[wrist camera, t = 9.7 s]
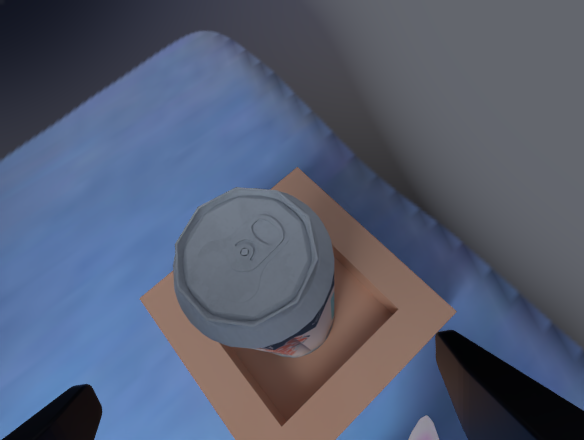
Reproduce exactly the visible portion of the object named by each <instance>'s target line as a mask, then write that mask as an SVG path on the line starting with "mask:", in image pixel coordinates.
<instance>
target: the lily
mask: <svg viewBox="0 0 584 440" xmlns="http://www.w3.org/2000/svg"><path fill="white" fill-rule="evenodd" d="M408 440H439V438H438V435H437V432H436V429H435V426H434V423H433V422H432V420H431V419H430V418H429V417H428V416H427V415H426V416H424V417H422V418H421V419H420V420H419V421H418V423H417V424H416V426H415V427H414V429H413V431H412V432H411V435H410V437H409V439H408Z"/></svg>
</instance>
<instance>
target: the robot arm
mask: <svg viewBox="0 0 584 440" xmlns="http://www.w3.org/2000/svg"><path fill="white" fill-rule="evenodd" d="M435 341H436V361H437V365H438V368H439V370H440V373H441V375H442V378H443V380H444V383H445V385H446V388H447V390H448V393H449V395H450V398H451V400H452V403H453V405H454V408H455V410H456V413H457V415H458V418H459V420H460V423H461V425H462V427H463V430H464V432H465V434H466V436H467V438H468V440H584V411H583V410H581V409H580V408H578V407H577V406H575V405H573V404H572V403H570V402H569V401H567V400H565V399H564V398H562V397H561V396H559V395H557V394H556V393H554V392H552V391H551V390H549V389H548V388H546V387H544V386H543V385H541V384H540V383H538V382H536V381H535V380H533V379H531V378H530V377H528V376H527V375H525V374H523V373H522V372H520V371H519V370H517V369H515V368H514V367H512V366H511V365H509V364H507V363H506V362H504V361H502V360H501V359H499V358H498V357H496V356H494V355H493V354H491V353H490V352H488V351H486V350H485V349H483V348H482V347H480V346H478V345H477V344H475V343H473V342H472V341H470V340H469V339H467V338H465V337H464V336H462V335H461V334H459V333H457V332H456V331H453V330H447V331H440V332H437V333H436V336H435ZM101 416H102V406H101V404H100V402H99V400H98V398H97V396H96V394H95V392H94V390H93V388H92V386H90V385H89V384H83V385H76V386H73V387H71V388H69V389H68V390H67V391H65V392H64V393H63V394H61V395H60V396H59V397H57V398H56V399H55V400H53V401H52V402H51V403H49V404H48V405H47V406H45V407H44V408H43V409H42V410H40V411H39V412H38V413H36V414H35V415H34V416H32V417H31V418H30V419H28V420H27V421H26V422H24V423H23V424H22V425H20V426H19V427H18V428H16V429H15V430H14V431H13V432H11V433H10V434H9V435H7V436H6V437H5V438H3V439H2V440H94V438H95V435H96V432H97V429H98V426H99V423H100V420H101Z"/></svg>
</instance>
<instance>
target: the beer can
mask: <svg viewBox="0 0 584 440" xmlns="http://www.w3.org/2000/svg"><path fill="white" fill-rule="evenodd" d="M173 274H174V290H175V293H176V297H177V300H178V302H179V305H180V307H181V309H182V311H183V312H184V314H185V315H186V317H187V318H188V320H189V321H190V323H191V324H192V325H193V326H195V327H196V328H197V329H198V330H199V331H200V332H201V333H202V334H203V335H205V336H207V337H208V338H210V339H211V340H214V341H216V342H219V343H221V344H224V345H227V346H230V347H240V348H251V349H256V350H260V351H265V352H269V353H273V354H276V355H279V356H282V357H291V358H296V357H302V356H304V355H307V354H310V353H311V352H313V351H315V350H316V349H318V348H319V347H320V346H321V345H322V344H323V343H324V342H325V340H326V339H327V338H328V336H329V334H330V331H331V329H332V326H333V321H334V254H333V248H332V243H331V239H330V236H329V234H328V232H327V230H326V228H325V226H324V224H323V223H322V221H321V219H320V218H319V217H318V215H317V214H316V213H315V212H314V211H313V210H312V209H311V208H310V207H309V206H308V205H306V204H305V203H303V202H302V201H300V200H298V199H297V198H295V197H294V196H292V195H289V194H287V193H284V192H280V191H278V190H266V189H257V188H253V189H252V188H239V187H236V188H234V189H232V190H230V191H228V192H226V193H224V194H222V195H220V196H218V197H216V198H214V199H213V200H211V201H209V202H207V203H205V204H203V205H201V206H199V207H198V208H197V209H196V211H195V213H194V214H193V216H192V217H191V219H190V221H189V222H188V224H187V226H186V227H185V229H184V230H183V232H182V234H181V235H180V237H179V239H178V240H177V242H176V243H175V258H174V264H173Z"/></svg>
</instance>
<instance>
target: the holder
mask: <svg viewBox="0 0 584 440" xmlns="http://www.w3.org/2000/svg"><path fill="white" fill-rule="evenodd" d="M270 190H278V191H280V192H284V193H287V194H289V195H292V196H294V197H295V198H297V199H298V200H300V201H302V202H303V203H305V204H306V205H308V206H309V207H310V208H311V209H312V210H313V211H314V212H315V213H316V214H317V215H318V217H319V218H320V219H321V221H322V223H323V224H324V226H325V228H326V230H327V232H328V234H329V236H330V239H331V243H332V248H333V254H334V321H333V326H332V329H331V331H330V334H329V336H328V338H327V339H326V340H325V342H324V343H323V344H322V345H321V346H320V347H319V348H318V349H316V350H315V351H313V352H311V353H310V354H307V355H304V356H302V357H296V358H291V357H282V356H279V355H276V354H273V353H269V352H265V351H260V350H256V349H251V348H240V347H230V346H227V345H224V344H221V343H219V342H216V341H214V340H211V339H210V338H208V337H207V336H205V335H203V334H202V333H201V332H200V331H199V330H198V329H197V328H196V327H195V326H193V325H192V324H191V323H190V321H189V320H188V318H187V317H186V315H185V314H184V312H183V311H182V309H181V307H180V305H179V302H178V300H177V297H176V293H175V290H174V274H173V271H172V272H171V273H170V274H168V275H167V276H166V277H165V278H164V279H162V280H161V281H160V282H159V283H158V284H156V285H155V286H154V287H153V288H152V289H150V290H149V291H148V292H147V293H146V294H144V295H143V296H142V297H141V298H140V300H141V301H142V303H143V304H144V306H145V307H146V309H147V310H148V312H149V313H150V315H151V316H152V318H153V319H154V321H155V322H156V324H157V325H158V326H159V328H160V329H161V331H162V332H163V334H164V335H165V337H166V338H167V340H168V341H169V343H170V344H171V346H172V347H173V349H174V350H175V351H176V353H177V354H178V356H179V357H180V359H181V360H182V362H183V363H184V365H185V366H186V368H187V369H188V371H189V372H190V374H191V375H192V377H193V378H194V379H195V381H196V382H197V384H198V385H199V387H200V388H201V390H202V391H203V393H204V394H205V396H206V397H207V399H208V400H209V402H210V403H211V405H212V406H213V407H214V409H215V410H216V412H217V413H218V415H219V416H220V418H221V419H222V421H223V422H224V424H225V425H226V427H227V428H228V430H229V431H230V433H231V434H232V435H233V437H234V438H235V440H335V439H336V438H337V437H338V436H339V435H340V434H341V433H342V432H343V431H344V430H345V429H346V428H347V427H348V426H349V425H350V424H351V423H352V421H353V420H354V419H355V418H356V417H357V416H358V415H359V414H360V413H361V412H362V411H363V410H364V409H365V408H366V407H367V406H368V405H369V404H370V403H371V401H372V400H373V399H374V398H375V397H376V396H377V395H378V394H379V393H380V392H381V391H382V390H383V389H384V388H385V387H386V386H387V385H388V384H389V382H390V381H391V380H392V379H393V378H394V377H395V376H396V375H397V374H398V373H399V372H400V371H401V370H402V369H403V368H404V367H405V366H406V365H407V364H408V362H409V361H410V360H411V359H412V358H413V357H414V356H415V355H416V354H417V353H418V352H419V351H420V350H421V349H422V348H423V347H424V346H425V345H426V344H427V342H428V341H429V340H430V339H431V338H432V337H433V336H434V335H435V334H436V333H437V332H438V331H439V330H440V329H441V328H442V327H443V326H444V325H445V323H446V322H447V321H448V320H449V319H450V318H451V317H452V316H453V315H454V314H455V313H456V312H457V311H456V310H454V309H453V308H452V307H451V306H450V305H449V304H448V303H447V302H446V301H445V300H443V299H442V298H441V297H440V296H439V295H438V294H437V293H436V292H435V291H434V290H432V289H431V288H430V287H429V286H428V285H427V284H426V283H425V282H424V281H422V280H421V279H420V278H419V277H418V276H417V275H416V274H415V273H414V272H413V271H411V270H410V269H409V268H408V267H407V266H406V265H405V264H404V263H403V262H402V261H400V260H399V259H398V258H397V257H396V256H395V255H394V254H393V253H392V252H391V251H389V250H388V249H387V248H386V247H385V246H384V245H383V244H382V243H381V242H379V241H378V240H377V239H376V238H375V237H374V236H373V235H372V234H371V233H370V232H368V231H367V230H366V229H365V228H364V227H363V226H362V225H361V224H360V223H359V222H357V221H356V220H355V219H354V218H353V217H352V216H351V215H350V214H349V213H348V212H346V211H345V210H344V209H343V208H342V207H341V206H340V205H339V204H338V203H337V202H335V201H334V200H333V199H332V198H331V197H330V196H329V195H328V194H327V193H325V192H324V191H323V190H322V189H321V188H320V187H319V186H318V185H317V184H316V183H314V182H313V181H312V180H311V179H310V178H309V177H308V176H307V175H306V174H305V173H303V172H302V171H301V170H300V169H299V168H298V167H297V168H296V169H294V170H293V171H292V172H291V173H290V174H288V175H287V176H286V177H285V178H284V179H282V180H281V181H280V182H279V183H278V184H276V185H275V186H274V187H273V188H272V189H270Z"/></svg>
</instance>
